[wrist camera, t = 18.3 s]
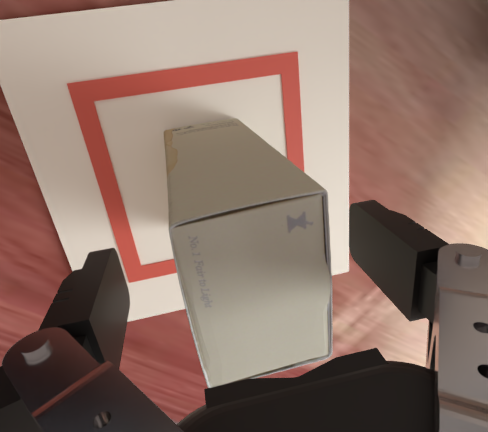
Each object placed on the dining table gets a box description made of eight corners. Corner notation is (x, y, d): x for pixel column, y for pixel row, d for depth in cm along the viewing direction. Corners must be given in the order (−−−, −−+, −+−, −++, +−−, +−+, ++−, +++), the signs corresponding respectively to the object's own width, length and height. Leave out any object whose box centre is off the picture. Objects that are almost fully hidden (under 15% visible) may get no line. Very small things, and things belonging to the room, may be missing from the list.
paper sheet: (345, -19, 19) (350, -21, 18) (346, 268, 26) (349, 272, 26) (-20, 23, 16) (-25, 22, 16) (96, 325, 24) (94, 330, 23)
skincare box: (162, 129, 19) (156, 215, 8) (241, 116, 20) (331, 180, 9) (184, 230, 22) (202, 397, 11) (254, 216, 23) (336, 361, 12)
